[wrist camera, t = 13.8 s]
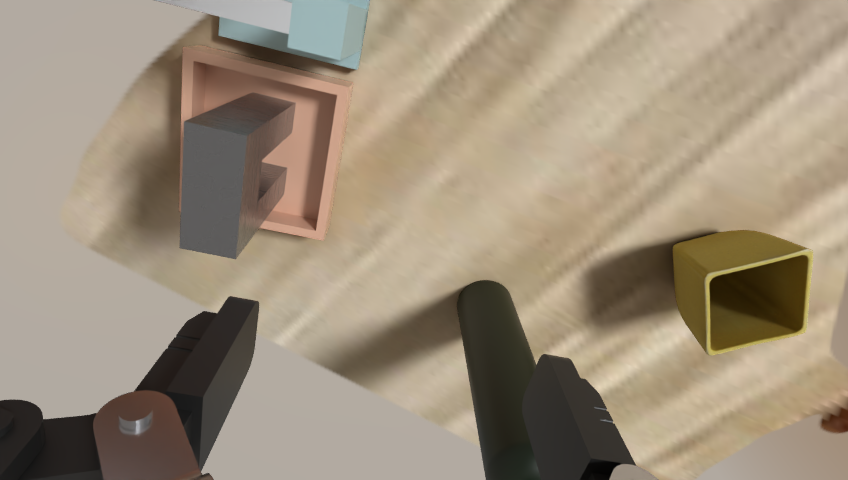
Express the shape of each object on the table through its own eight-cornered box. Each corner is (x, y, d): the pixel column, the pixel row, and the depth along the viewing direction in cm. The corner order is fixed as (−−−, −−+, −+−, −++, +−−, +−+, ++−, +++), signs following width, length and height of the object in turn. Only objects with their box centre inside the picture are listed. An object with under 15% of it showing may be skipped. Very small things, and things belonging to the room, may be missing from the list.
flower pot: (743, 208, 45) (816, 248, 37) (741, 283, 49) (808, 334, 41) (652, 231, 46) (704, 275, 38) (657, 303, 50) (706, 357, 42)
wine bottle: (504, 328, 51) (615, 682, 23) (452, 323, 50) (503, 677, 23) (516, 283, 48) (655, 618, 21) (462, 276, 48) (532, 610, 20)
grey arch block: (252, 92, 39) (184, 121, 27) (295, 102, 39) (247, 135, 27) (244, 185, 42) (179, 248, 30) (283, 194, 43) (235, 259, 31)
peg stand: (188, -60, 35) (74, -104, 23) (371, -11, 37) (353, -28, 25) (185, 25, 37) (82, 25, 26) (358, 68, 39) (336, 87, 27)
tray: (200, 45, 38) (182, 46, 35) (353, 82, 39) (348, 87, 36) (194, 198, 43) (178, 211, 40) (329, 226, 45) (323, 240, 42)
